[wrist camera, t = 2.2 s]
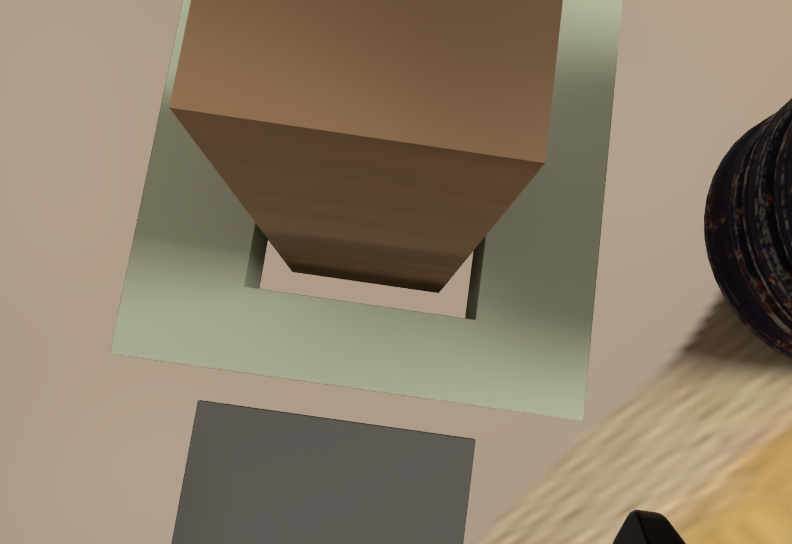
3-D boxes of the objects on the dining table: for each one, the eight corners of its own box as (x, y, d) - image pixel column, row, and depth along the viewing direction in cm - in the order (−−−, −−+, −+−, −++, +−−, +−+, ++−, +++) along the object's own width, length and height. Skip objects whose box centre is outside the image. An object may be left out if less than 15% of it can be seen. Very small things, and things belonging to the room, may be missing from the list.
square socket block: (559, 416, 22) (583, 421, 20) (139, 356, 22) (109, 353, 19) (602, -23, 25) (628, -67, 22) (226, -80, 24) (210, -131, 22)
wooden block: (438, 292, 23) (545, 163, 9) (292, 272, 23) (169, 108, 9) (456, 152, 23) (581, -168, 10) (315, 131, 23) (236, -222, 10)
